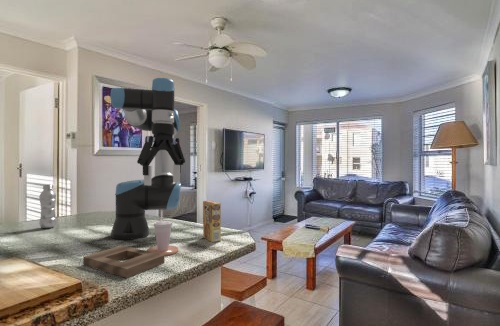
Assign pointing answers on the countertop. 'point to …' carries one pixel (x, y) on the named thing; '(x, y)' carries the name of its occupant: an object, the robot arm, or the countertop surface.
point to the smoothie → (163, 234)
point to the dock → (128, 268)
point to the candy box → (212, 221)
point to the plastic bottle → (47, 207)
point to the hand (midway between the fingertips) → (162, 183)
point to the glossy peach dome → (170, 251)
